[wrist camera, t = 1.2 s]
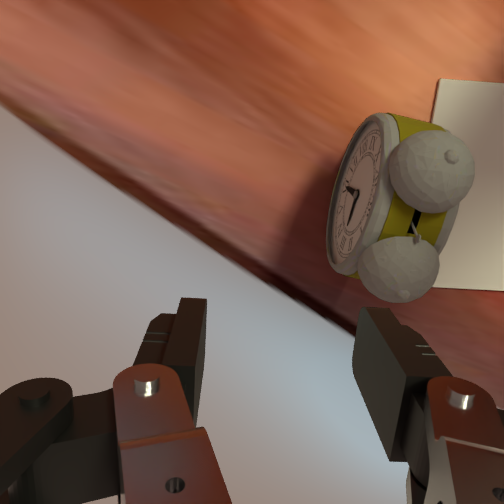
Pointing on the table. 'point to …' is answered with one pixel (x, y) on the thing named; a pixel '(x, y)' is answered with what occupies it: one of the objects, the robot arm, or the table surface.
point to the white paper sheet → (475, 185)
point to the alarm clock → (396, 204)
